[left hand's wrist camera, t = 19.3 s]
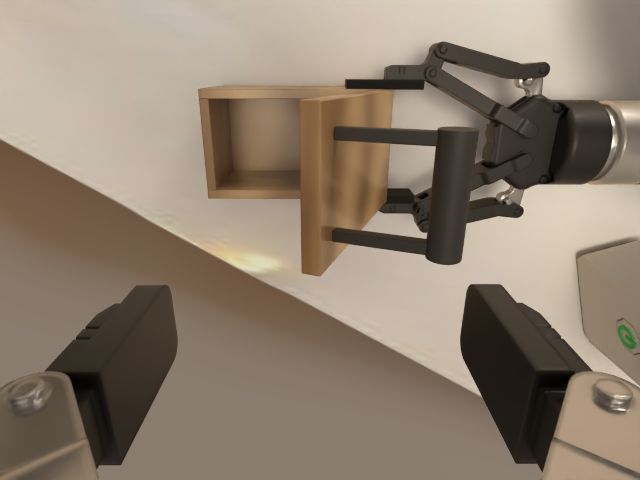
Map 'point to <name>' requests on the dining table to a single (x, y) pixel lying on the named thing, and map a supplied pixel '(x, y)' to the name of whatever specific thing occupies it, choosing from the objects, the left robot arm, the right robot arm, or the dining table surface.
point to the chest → (255, 138)
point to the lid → (374, 179)
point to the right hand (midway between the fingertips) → (344, 142)
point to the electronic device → (613, 304)
